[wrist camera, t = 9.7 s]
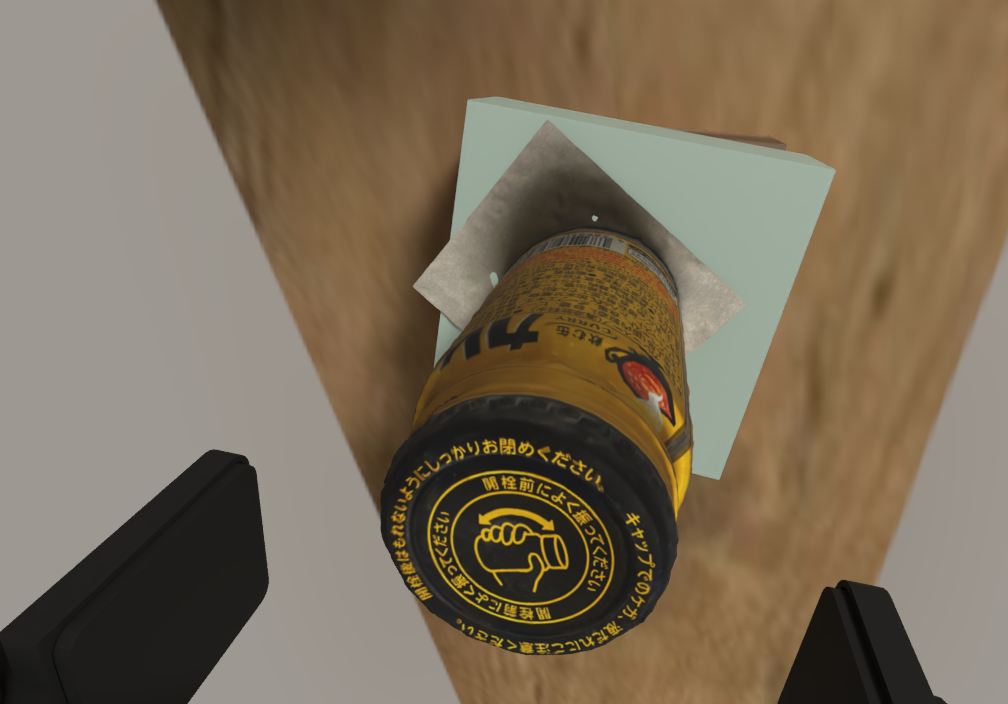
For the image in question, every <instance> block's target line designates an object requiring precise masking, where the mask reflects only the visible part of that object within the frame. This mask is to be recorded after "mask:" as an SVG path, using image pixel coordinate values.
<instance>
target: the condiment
mask: <svg viewBox="0 0 1008 704" xmlns="http://www.w3.org/2000/svg"><path fill="white" fill-rule="evenodd" d="M593 215H594V216H596V217H598V218H597V220H596V221H593V220H592V217H593ZM492 272H494V273H496V275H497V278H498V284H497V285H496V286H495V288H494V287H493V284H492V282H491V278H490V274H491V273H492ZM413 287H414V288H415V289H416V290H417V291H418V292H419V293H421V294H422V295H423V296H424V297H425V298H426V299H427V300H428V301H429V302H430V303H431V304H433V305H434V306H435V307H436V308H438V309H439V310H440V311H442V312H443V313H444V314H445V315H446V316H447V317H448V318H449V319H450V320H451V321H452V322H453V323H454V324H455V325H456V326H458V327H459V328H461V329H462V330H463V331H462V332H461V334H460V335H459V336H458V337H457V338H456V339H455V340H454V341H453V343H452V344H451V346H450V348H449V349H448V350H447V351H446V352H445V353H444V354H443V355H442V356H441V358H440V359H439V360H438V362H437V363H436V365H435V368H434V370H433V371H432V373H431V374H430V376H429V378H428V379H427V381H426V383H425V385H424V387H423V389H422V391H421V394H420V397H419V400H418V403H417V407H416V410H415V414H414V423H413V428H412V431H411V433H410V436H409V438H408V440H406V441H405V442H404V443H403V444H402V446H401V447H400V448H399V449H398V451H397V452H396V454H395V456H394V457H393V460H392V464H391V467H390V469H389V470H388V473H387V476H386V479H385V481H384V483H385V486H384V488H383V490H382V492H381V533H382V538H383V541H384V543H385V546H386V548H387V549H388V551H389V553H390V554H391V558H392V560H393V562H394V564H395V566H396V567H397V569H398V571H399V573H400V575H401V576H402V578H403V580H404V583H405V585H406V586H407V588H408V589H409V590H410V591H411V592H412V593H413V594H414V595H415V596H416V597H417V598H418V599H419V600H420V601H421V602H422V603H423V604H424V605H425V606H426V607H427V608H428V610H429V611H430V612H431V613H433V614H435V615H436V616H438V617H439V618H441V619H443V620H444V621H446V622H447V623H449V624H450V625H451V626H453V627H454V628H456V629H458V630H460V631H462V632H463V633H464V634H465V635H466V636H469V637H471V638H474V639H476V640H479V641H483V642H486V643H488V644H490V645H493V646H497V647H500V648H503V649H505V650H508V651H511V652H515V653H520V654H525V655H564V654H573V653H577V652H582V651H588V650H592V649H595V648H597V647H600V646H603V645H605V644H607V643H609V642H610V641H612V640H613V639H615V638H616V637H618V636H620V635H622V634H624V633H625V632H627V631H628V630H630V629H632V628H634V627H635V626H637V625H639V624H640V623H642V622H644V620H645V619H646V618H647V616H648V615H649V614H650V613H651V612H652V611H653V609H654V607H655V605H656V603H657V601H658V599H659V598H660V596H661V595H662V594H663V592H664V591H665V589H666V587H667V585H668V582H669V580H670V574H671V569H672V567H673V564H674V561H675V559H676V557H677V543H678V533H677V525H676V521H677V514H678V510H679V508H680V506H681V504H682V502H683V500H684V497H685V494H686V489H687V486H688V483H689V480H690V477H691V474H692V460H693V446H694V441H693V424H692V420H691V416H690V410H689V407H690V403H689V395H690V390H689V386H688V383H687V371H686V361H685V357H686V356H688V355H689V354H690V353H691V352H692V351H694V350H695V349H696V348H697V347H699V346H700V345H701V344H702V343H704V342H705V341H706V340H707V339H708V338H710V337H711V336H713V335H714V334H715V333H716V332H717V331H718V330H719V329H720V328H722V327H723V326H724V325H725V324H726V323H728V322H729V321H730V320H731V319H732V318H733V317H735V316H736V315H737V314H738V313H739V312H740V311H741V310H743V309H744V308H745V307H746V306H747V305H748V304H746V303H745V302H744V301H743V300H742V299H741V298H740V297H739V296H738V295H737V294H736V293H735V292H734V291H733V290H731V289H730V288H729V287H728V286H727V285H726V284H725V283H724V282H723V281H722V280H721V279H720V278H719V277H718V276H717V275H716V274H714V273H713V272H712V271H711V270H710V269H709V268H708V267H707V266H706V265H705V264H704V263H703V262H702V261H700V260H699V259H698V258H697V257H696V256H695V255H694V254H693V253H692V252H691V251H690V250H689V249H688V248H687V247H686V246H685V245H683V244H682V243H681V242H680V241H679V240H678V239H677V238H676V237H675V236H674V235H673V234H671V233H670V232H669V231H668V230H667V229H666V228H665V227H664V226H663V225H662V224H661V223H660V222H658V221H657V220H656V219H655V218H654V217H653V216H652V215H651V214H650V213H649V212H648V211H647V210H646V209H644V208H643V207H642V206H641V205H640V204H639V203H637V202H636V201H635V200H634V199H633V198H632V197H631V196H630V195H628V194H627V193H626V192H625V191H624V190H623V189H622V188H621V187H620V186H619V185H618V184H617V183H616V182H615V181H614V180H613V179H612V178H611V177H610V176H609V175H608V174H606V173H605V172H604V171H603V170H602V169H601V168H600V167H599V166H598V165H597V164H596V163H595V162H594V161H593V160H591V159H590V158H589V157H588V156H587V155H586V154H585V153H584V152H582V151H581V150H580V149H579V148H578V147H577V146H576V145H574V144H573V143H572V142H571V141H570V140H569V139H568V138H567V137H566V136H565V135H564V134H563V133H562V132H561V131H560V130H559V129H557V128H556V127H555V126H554V125H553V124H552V123H551V122H550V121H549V120H548V119H547V120H546V122H545V123H544V124H543V125H542V127H541V128H540V129H539V130H538V131H537V133H536V134H535V135H534V136H533V138H532V139H531V141H530V142H529V143H528V144H527V146H526V147H525V148H524V149H523V151H522V152H521V153H520V154H519V155H518V157H517V158H516V159H515V160H514V162H513V163H512V164H511V165H510V167H509V168H508V169H507V170H506V172H505V173H504V174H503V175H502V177H501V178H500V179H499V180H498V181H497V183H496V184H495V185H494V187H493V188H492V189H491V190H490V192H489V193H488V194H487V196H486V197H485V198H484V199H483V200H482V201H481V203H480V204H479V205H478V206H477V208H476V209H475V210H474V211H473V213H472V214H471V215H470V216H469V218H468V219H467V221H466V223H465V224H463V225H462V226H461V227H460V229H459V230H458V231H457V232H456V234H455V235H454V236H453V237H452V239H451V240H450V241H449V242H448V243H447V245H446V246H445V247H444V248H443V250H442V251H441V252H440V253H439V255H438V256H437V257H436V258H435V260H434V261H433V262H432V263H431V264H430V266H429V267H428V268H427V269H426V270H425V272H424V273H423V274H422V275H421V277H420V278H419V279H418V280H417V282H416V283H415V284H414V285H413Z"/></svg>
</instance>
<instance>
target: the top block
mask: <svg viewBox="0 0 1008 704" xmlns="http://www.w3.org/2000/svg"><path fill="white" fill-rule="evenodd" d="M547 119H548V120H549V121H550V122H551V123H552V124H553V125H554V126H555V127H556V128H557V129H559V130H560V131H561V132H562V133H563V134H564V135H565V136H566V137H567V138H568V139H569V140H570V141H571V142H572V143H573V144H574V145H576V146H577V147H578V148H579V149H580V150H581V151H582V152H584V153H585V154H586V155H587V156H588V157H589V158H590V159H591V160H593V161H594V162H595V163H596V164H597V165H598V166H599V167H600V168H601V169H602V170H603V171H604V172H605V173H606V174H608V175H609V176H610V177H611V178H612V179H613V180H614V181H615V182H616V183H617V184H618V185H619V186H620V187H621V188H622V189H623V190H624V191H625V192H626V193H627V194H628V195H630V196H631V197H632V198H633V199H634V200H635V201H636V202H637V203H639V204H640V205H641V206H642V207H643V208H644V209H646V210H647V211H648V212H649V213H650V214H651V215H652V216H653V217H654V218H655V219H656V220H657V221H658V222H660V223H661V224H662V225H663V226H664V227H665V228H666V229H667V230H668V231H669V232H670V233H671V234H673V235H674V236H675V237H676V238H677V239H678V240H679V241H680V242H681V243H682V244H683V245H685V246H686V247H687V248H688V249H689V250H690V251H691V252H692V253H693V254H694V255H695V256H696V257H697V258H698V259H699V260H700V261H702V262H703V263H704V264H705V265H706V266H707V267H708V268H709V269H710V270H711V271H712V272H713V273H714V274H716V275H717V276H718V277H719V278H720V279H721V280H722V281H723V282H724V283H725V284H726V285H727V286H728V287H729V288H730V289H731V290H733V291H734V292H735V293H736V294H737V295H738V296H739V297H740V298H741V299H742V300H743V301H744V302H745V303H746V304H748V305H747V306H746V307H745V308H744V309H743V310H741V311H740V312H739V313H738V314H737V315H736V316H735V317H733V318H732V319H731V320H730V321H729V322H728V323H726V324H725V325H724V326H723V327H722V328H720V329H719V330H718V331H717V332H716V333H715V334H714V335H713V336H711V337H710V338H708V339H707V340H706V341H705V342H704V343H702V344H701V345H700V346H699V347H697V348H696V349H695V350H694V351H692V352H691V353H690V354H689V355H688V356H686V357H685V361H686V371H687V383H688V386H689V390H690V395H689V403H690V407H689V410H690V416H691V420H692V424H693V441H694V446H693V460H692V473H694V474H698V475H702V476H706V477H710V478H714V479H718V480H719V479H720V476H721V474H722V471H723V468H724V466H725V463H726V460H727V458H728V455H729V453H730V450H731V447H732V445H733V442H734V439H735V437H736V434H737V431H738V429H739V426H740V423H741V421H742V418H743V415H744V413H745V410H746V407H747V405H748V402H749V400H750V397H751V394H752V392H753V389H754V386H755V384H756V381H757V378H758V376H759V373H760V370H761V368H762V365H763V362H764V360H765V357H766V354H767V352H768V349H769V347H770V344H771V341H772V339H773V336H774V333H775V331H776V328H777V325H778V323H779V320H780V317H781V315H782V312H783V309H784V307H785V304H786V301H787V299H788V296H789V294H790V291H791V288H792V286H793V283H794V280H795V278H796V275H797V272H798V270H799V267H800V264H801V262H802V259H803V256H804V254H805V251H806V248H807V246H808V243H809V241H810V238H811V235H812V233H813V230H814V227H815V225H816V222H817V219H818V217H819V214H820V211H821V209H822V206H823V203H824V201H825V198H826V195H827V193H828V190H829V188H830V185H831V182H832V180H833V177H834V174H835V172H836V170H835V169H833V168H831V167H829V166H827V165H825V164H823V163H821V162H819V161H817V160H815V159H813V158H812V157H810V156H808V155H805V154H800V153H794V152H789V151H784V150H779V149H773V148H768V147H763V146H757V145H752V144H747V143H741V142H736V141H731V140H726V139H720V138H715V137H710V136H704V135H699V134H694V133H688V132H683V131H678V130H672V129H667V128H662V127H657V126H651V125H646V124H641V123H635V122H630V121H625V120H619V119H614V118H609V117H603V116H598V115H593V114H588V113H582V112H577V111H572V110H566V109H561V108H556V107H550V106H545V105H540V104H534V103H529V102H524V101H519V100H513V99H508V98H503V97H497V96H496V97H488V98H479V99H471V100H468V102H467V110H466V118H465V126H464V133H463V141H462V149H461V157H460V165H459V173H458V181H457V188H456V196H455V204H454V212H453V220H452V228H451V236H450V240H451V239H452V237H453V236H454V235H455V234H456V232H457V231H458V230H459V229H460V227H461V226H462V225H463V224H465V223H466V221H467V219H468V218H469V216H470V215H471V214H472V213H473V211H474V210H475V209H476V208H477V206H478V205H479V204H480V203H481V201H482V200H483V199H484V198H485V197H486V196H487V194H488V193H489V192H490V190H491V189H492V188H493V187H494V185H495V184H496V183H497V181H498V180H499V179H500V178H501V177H502V175H503V174H504V173H505V172H506V170H507V169H508V168H509V167H510V165H511V164H512V163H513V162H514V160H515V159H516V158H517V157H518V155H519V154H520V153H521V152H522V151H523V149H524V148H525V147H526V146H527V144H528V143H529V142H530V141H531V139H532V138H533V136H534V135H535V134H536V133H537V131H538V130H539V129H540V128H541V127H542V125H543V124H544V123H545V122H546V120H547ZM597 218H598V217H596V216H594V215H593V217H592V220H593V221H596V220H597ZM490 278H491V282H492V284H493V287H494V288H495V286H496V285H497V284H498V278H497V275H496V273H494V272H492V273H491V274H490ZM462 331H463V330H462V329H461V328H459V327H458V326H456V325H455V324H454V323H453V322H452V321H451V320H450V319H449V318H448V317H447V316H446V315H445V314H444V313H443V312H442V311H441V314H440V322H439V330H438V338H437V346H436V354H435V362H434V368H435V365H436V363H437V362H438V360H439V359H440V358H441V356H442V355H443V354H444V353H445V352H446V351H447V350H448V349H449V348H450V346H451V344H452V343H453V341H454V340H455V339H456V338H457V337H458V336H459V335H460V334H461V332H462Z"/></svg>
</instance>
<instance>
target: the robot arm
mask: <svg viewBox="0 0 1008 704" xmlns="http://www.w3.org/2000/svg"><path fill="white" fill-rule="evenodd" d="M268 584H269V577H268V568H267V560H266V552H265V542H264V534H263V525H262V517H261V509H260V500H259V491H258V483H257V474H256V470H255V468H254V467H253V466H250V465H249V461H248V459H247V458H246V457H245V456H243V455H239V454H234V453H230V452H224V451H220V450H215V449H214V450H209V451H208V452H206V453H205V454H204V455H202V456H201V457H200V458H199V459H198V460H197V461H196V462H195V463H193V464H192V465H191V466H190V467H189V468H188V469H186V470H185V471H184V472H183V473H182V474H181V475H180V476H178V477H177V478H176V479H175V480H174V481H173V482H171V483H170V484H169V485H168V486H167V487H166V488H165V489H163V490H162V491H161V492H160V493H159V494H158V495H157V496H155V497H154V498H153V499H152V500H151V501H150V502H149V503H147V504H146V505H145V506H144V507H143V508H142V509H141V510H140V511H138V512H137V513H136V514H135V515H134V516H132V517H131V518H130V519H129V520H128V521H127V522H126V523H124V524H123V525H122V526H121V527H120V528H119V529H118V530H117V531H115V532H114V533H113V534H112V535H111V536H110V537H108V538H107V539H106V540H105V541H104V542H103V543H102V544H101V545H99V546H98V547H97V548H96V549H95V550H94V551H92V552H91V553H90V554H89V555H88V556H87V557H86V558H85V559H83V560H82V561H81V562H80V563H79V564H77V565H76V566H75V567H74V568H73V569H72V570H71V571H70V572H68V573H67V574H66V575H65V576H64V577H63V578H61V579H60V580H59V581H58V582H57V583H56V584H54V585H53V586H52V587H51V588H50V589H49V590H48V591H47V592H46V593H44V594H43V595H42V596H41V597H40V598H38V599H37V600H36V601H35V602H34V603H33V604H32V605H30V606H29V607H28V608H27V609H26V610H25V611H24V612H22V613H21V614H20V615H19V616H18V617H17V618H16V619H14V620H13V621H12V622H11V623H10V624H9V625H8V626H6V627H5V628H4V629H3V630H2V631H1V632H0V704H188V702H189V701H190V700H191V698H192V697H193V695H194V694H195V693H196V691H197V690H198V689H199V687H200V686H201V684H202V683H203V682H204V680H205V679H206V678H207V676H208V675H209V673H210V672H211V671H212V669H213V668H214V667H215V665H216V664H217V662H218V661H219V660H220V658H221V657H222V656H223V654H224V653H225V652H226V650H227V649H228V647H229V646H230V645H231V643H232V642H233V640H234V639H235V638H236V636H237V635H238V634H239V632H240V631H241V630H242V628H243V627H244V625H245V624H246V622H247V621H248V620H249V619H250V617H251V616H252V614H253V613H254V612H255V610H256V609H257V608H258V606H259V605H260V604H261V602H262V600H263V599H264V597H265V595H266V592H267V588H268ZM778 704H947V703H946V702H945V701H944V700H943V699H942V698H940V697H937V696H934V695H933V693H932V691H931V689H930V686H929V684H928V682H927V679H926V677H925V675H924V672H923V670H922V668H921V666H920V663H919V661H918V659H917V656H916V654H915V652H914V649H913V647H912V645H911V642H910V640H909V638H908V635H907V633H906V631H905V629H904V626H903V624H902V621H901V619H900V617H899V615H898V612H897V610H896V608H895V605H894V603H893V601H892V599H891V597H890V595H889V593H888V591H887V590H885V589H884V588H881V587H876V586H871V585H867V584H862V583H857V582H852V581H847V580H841V581H840V582H839V583H838V584H837V586H836V587H835V588H832V587H826V588H825V589H824V590H823V592H822V594H821V596H820V599H819V601H818V604H817V606H816V609H815V611H814V614H813V616H812V619H811V621H810V624H809V626H808V629H807V631H806V634H805V636H804V638H803V641H802V643H801V646H800V648H799V651H798V653H797V656H796V658H795V661H794V663H793V666H792V668H791V671H790V673H789V676H788V678H787V681H786V683H785V686H784V688H783V691H782V693H781V695H780V698H779V700H778Z"/></svg>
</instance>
